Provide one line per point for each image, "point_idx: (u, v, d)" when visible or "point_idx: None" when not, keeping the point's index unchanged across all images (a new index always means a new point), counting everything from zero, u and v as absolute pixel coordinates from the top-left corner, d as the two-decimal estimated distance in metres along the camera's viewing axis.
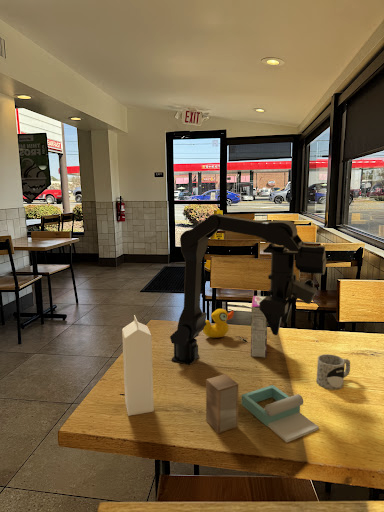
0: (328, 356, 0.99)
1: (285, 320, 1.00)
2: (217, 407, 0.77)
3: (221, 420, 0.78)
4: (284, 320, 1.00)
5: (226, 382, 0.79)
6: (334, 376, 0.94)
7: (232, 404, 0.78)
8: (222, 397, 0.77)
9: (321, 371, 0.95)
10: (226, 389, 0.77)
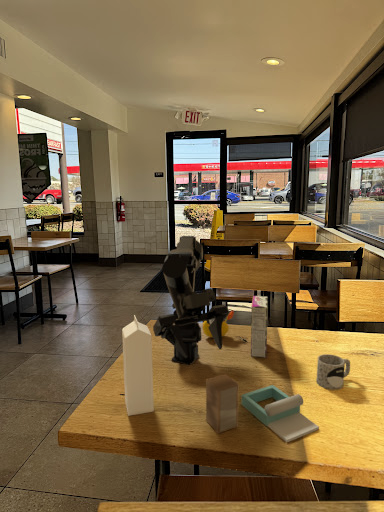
0: (328, 356, 0.99)
1: (219, 344, 0.88)
2: (217, 407, 0.77)
3: (221, 420, 0.78)
4: (219, 345, 0.88)
5: (226, 382, 0.79)
6: (334, 376, 0.94)
7: (232, 404, 0.78)
8: (222, 397, 0.77)
9: (321, 371, 0.95)
10: (226, 389, 0.77)
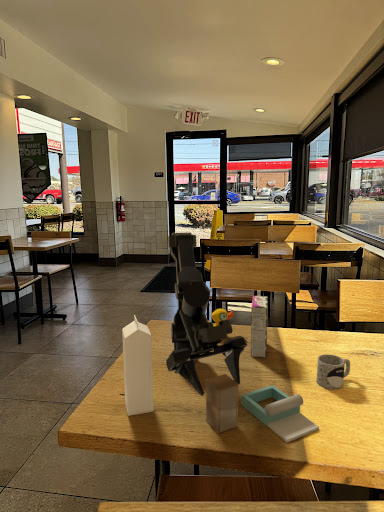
0: (328, 356, 0.99)
1: (237, 380, 0.82)
2: (217, 407, 0.77)
3: (221, 420, 0.78)
4: (236, 381, 0.82)
5: (226, 382, 0.79)
6: (334, 376, 0.94)
7: (232, 404, 0.78)
8: (222, 397, 0.77)
9: (321, 371, 0.95)
10: (226, 389, 0.77)
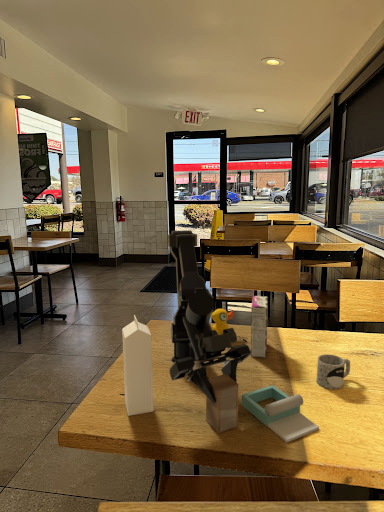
0: (328, 356, 0.99)
1: None
2: (217, 407, 0.77)
3: (221, 420, 0.78)
4: None
5: (226, 382, 0.79)
6: (334, 376, 0.94)
7: (232, 404, 0.78)
8: (222, 397, 0.77)
9: (321, 371, 0.95)
10: (226, 389, 0.77)
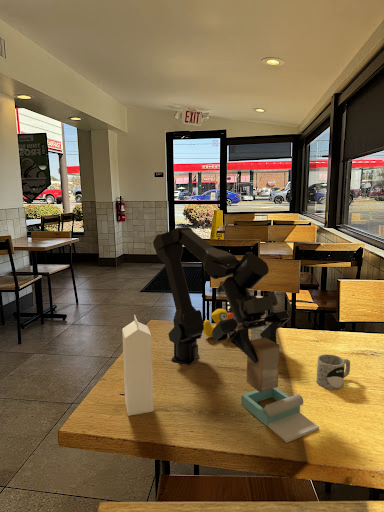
0: (328, 356, 0.99)
1: None
2: (259, 367, 0.80)
3: (263, 380, 0.81)
4: None
5: (267, 344, 0.82)
6: (334, 376, 0.94)
7: (273, 364, 0.81)
8: (264, 356, 0.80)
9: (321, 371, 0.95)
10: (268, 349, 0.80)
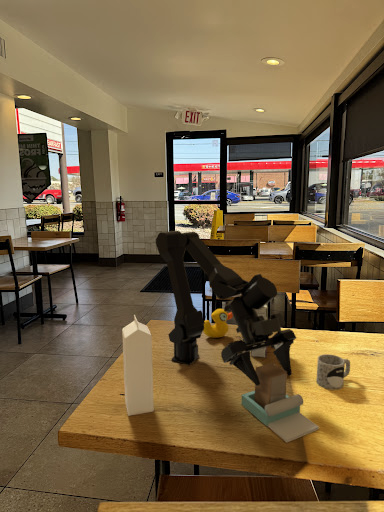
0: (328, 356, 0.99)
1: (288, 371, 0.86)
2: (267, 393, 0.82)
3: None
4: (288, 372, 0.86)
5: (275, 370, 0.84)
6: (334, 376, 0.94)
7: (281, 390, 0.83)
8: (273, 383, 0.82)
9: (321, 371, 0.95)
10: (276, 376, 0.82)
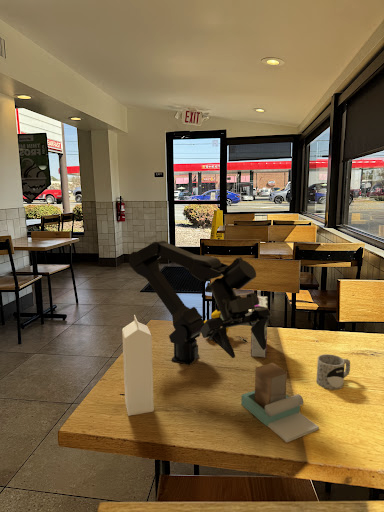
0: (328, 356, 0.99)
1: (263, 345, 0.94)
2: (267, 393, 0.82)
3: None
4: (262, 346, 0.94)
5: (275, 370, 0.84)
6: (334, 376, 0.94)
7: (281, 390, 0.83)
8: (273, 383, 0.82)
9: (321, 371, 0.95)
10: (276, 376, 0.82)
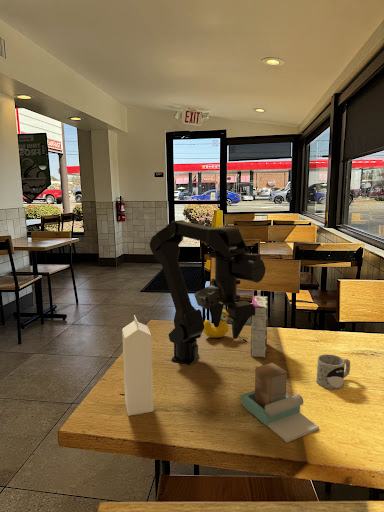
0: (328, 356, 0.99)
1: None
2: (267, 393, 0.82)
3: None
4: None
5: (275, 370, 0.84)
6: (334, 376, 0.94)
7: (281, 390, 0.83)
8: (273, 383, 0.82)
9: (321, 371, 0.95)
10: (276, 376, 0.82)
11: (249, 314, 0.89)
